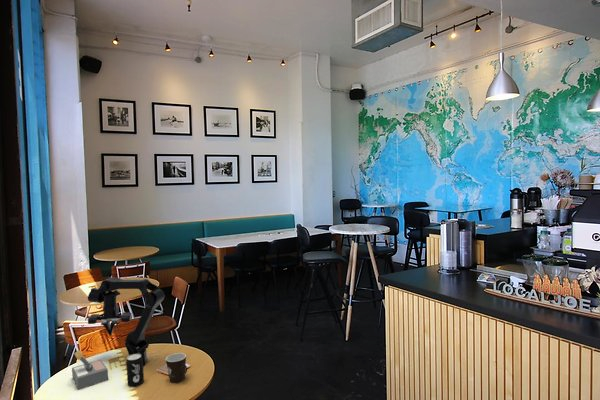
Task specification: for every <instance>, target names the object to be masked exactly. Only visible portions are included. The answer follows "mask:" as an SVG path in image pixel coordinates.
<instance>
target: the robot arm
mask: <svg viewBox="0 0 600 400" xmlns="http://www.w3.org/2000/svg"><path fill="white" fill-rule="evenodd" d="M118 290H139V291H140V293H141V295H142V297H143V298H144V299H145V300H144V305H145V307H144V309H143V311H142V314H141V315H140V317H139V320H138V322H137V325H136V326H135V328H134V329H133V330H132V331H130V332H128V333H127V334H126V338H125V340H124V345H125V348H126V351H127V353H128V356H130V355H133V354H141V357H142V359H143V367H145V366H146V365H147V363H148V361H149V359H148V358H147V357H148V356H147V349H148V348H149V345H150V343H149V342H147V340H145V339H146V338H145V337H146V335H145V332H146V330H147V328H148V325H149V324H150V321H151V319H152V317H153V316H154V313H155V311H156V309H157V308H158V307H159V306H160V304H161V303H162V302H163V301H164V300H165V297H166V295H165V292H164V290H162V288H160V287H159V286H158V285H156V284H154V283H152V282H151V281H150V280H149V279H146V278H143V279H121V278H120V277H116V276H114V277H113V276H112V277H109V278H106V279H104V280H102V281H101V283H100V286H99V287H98V288H97V287H93V288H91V289H90V292H89V293H88V296H87V301H88V302H89V303H97V304H103V308H102V312H103V315H100V313H94V314H91V315H89V317H88V318H87V324H88V325H92V324H93V325H95V324H96V323H98V321H101V322H100V325H102V326H103V327H104V328H105V330H106V332H107V334H108V336H112V335H113V332H114V329H115V326H116V325H117V324H119V321H121V322H122V323H127V322H131V319H132V317H133V315H132V314H133V313H132V312H130V311H129V312H122V314H119V309H120V308H119V306H118V305H117V296H119V295H121V293H120V291H118ZM149 291H150V292H149Z"/></svg>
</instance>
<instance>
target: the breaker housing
mask: <svg viewBox="0 0 600 400" xmlns="http://www.w3.org/2000/svg"><path fill="white" fill-rule="evenodd" d="M90 364H91V365H92V367H93V368H92V369H91V370H89V369H88V367H87V366H86V365H85V364H84V363H83V364H81V365H77V366H74V367H72V368H71V373H72V375H71V376H72V380H73V383H74V384H75V386H76V388H77V390H79V391H81V390H83V389H86V388H88V387H91V386H95V385H98V384H101V383H104V382H107V381H109V371H108V368H107V366H106V365H105V364H104V362H103V361H102V359H98V360H93V361H91V362H90Z"/></svg>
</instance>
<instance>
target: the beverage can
mask: <svg viewBox="0 0 600 400" xmlns="http://www.w3.org/2000/svg"><path fill="white" fill-rule="evenodd" d="M125 363H126V366H125V367H126V377H127V385H128V386H130V387H138V386H141V385H142V384H143V383H144V381H145V376H144V375H145V374H144V366H143V359H142V357H141V354H133V355H128V356H127V357H126V361H125Z"/></svg>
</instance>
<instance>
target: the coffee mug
mask: <svg viewBox="0 0 600 400" xmlns="http://www.w3.org/2000/svg"><path fill="white" fill-rule="evenodd" d="M186 361H187V355H186V353H183V352H176V353H171V354H169V355H167V356H166V357H165V364H166V368H167V374H168V378H169V382H170V383H172V384H178V383H181V382H183V381H184V380H185V378H186V373H187V372H188V367H187V364H186V363H187V362H186Z"/></svg>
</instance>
